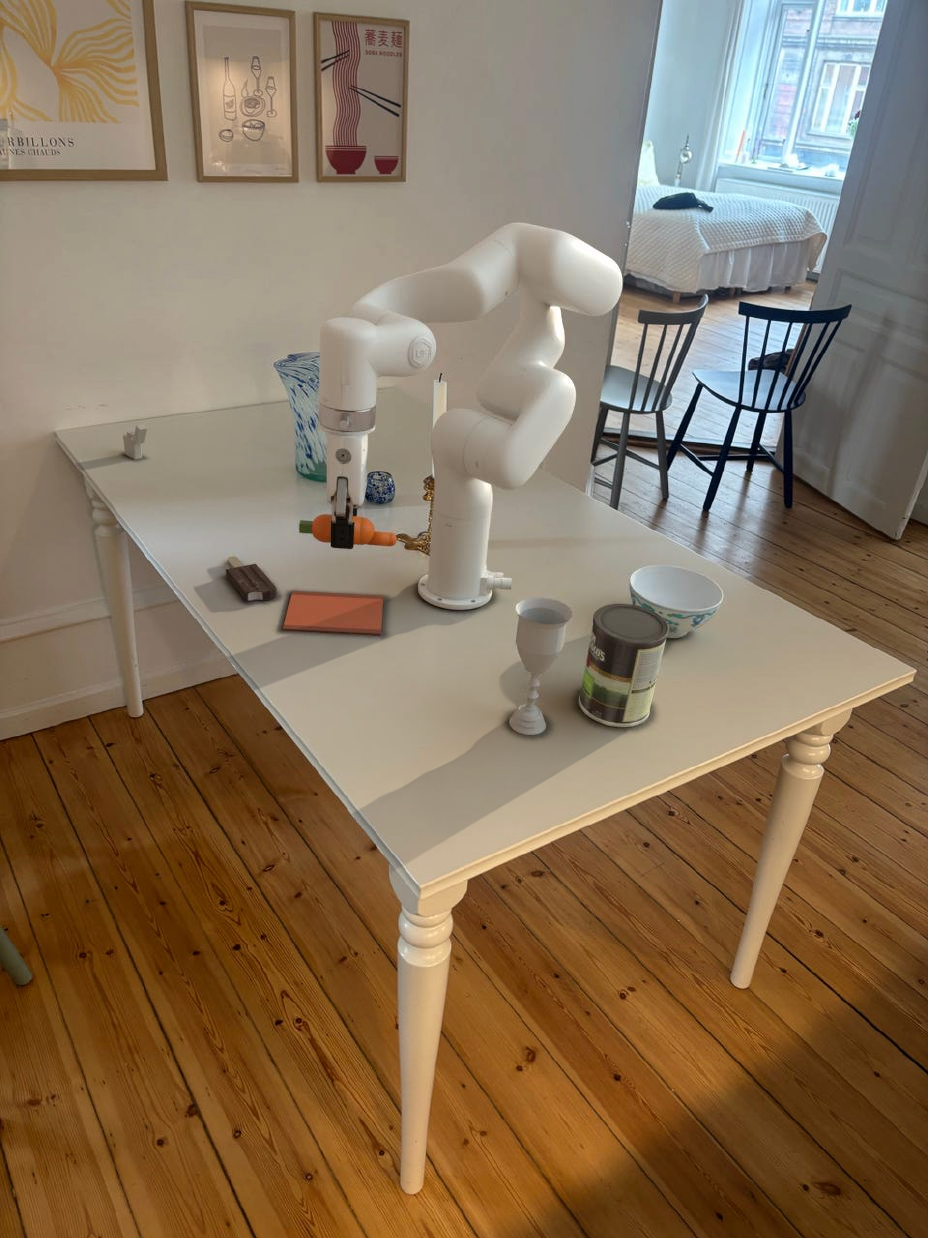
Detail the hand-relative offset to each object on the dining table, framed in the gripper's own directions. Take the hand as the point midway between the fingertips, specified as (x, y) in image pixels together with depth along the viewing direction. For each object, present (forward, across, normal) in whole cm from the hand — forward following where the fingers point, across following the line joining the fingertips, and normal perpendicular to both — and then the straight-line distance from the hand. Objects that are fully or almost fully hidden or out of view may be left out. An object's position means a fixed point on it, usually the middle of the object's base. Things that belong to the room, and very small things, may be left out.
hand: (343, 539), depth 133 cm
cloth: (+17, +9, +2) cm, 20 cm away
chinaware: (+17, +11, -53) cm, 57 cm away
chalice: (+18, -18, -27) cm, 37 cm away
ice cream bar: (+18, +18, +17) cm, 30 cm away
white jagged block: (+17, +68, +49) cm, 86 cm away
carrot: (0, 0, 0) cm, 1 cm away
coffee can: (+17, -12, -40) cm, 46 cm away
